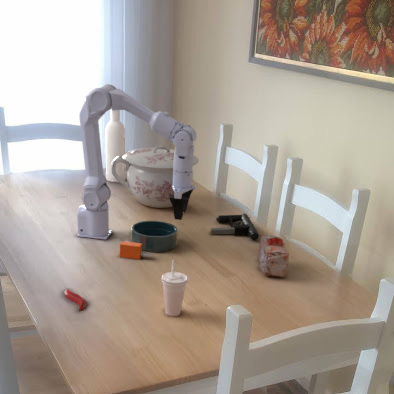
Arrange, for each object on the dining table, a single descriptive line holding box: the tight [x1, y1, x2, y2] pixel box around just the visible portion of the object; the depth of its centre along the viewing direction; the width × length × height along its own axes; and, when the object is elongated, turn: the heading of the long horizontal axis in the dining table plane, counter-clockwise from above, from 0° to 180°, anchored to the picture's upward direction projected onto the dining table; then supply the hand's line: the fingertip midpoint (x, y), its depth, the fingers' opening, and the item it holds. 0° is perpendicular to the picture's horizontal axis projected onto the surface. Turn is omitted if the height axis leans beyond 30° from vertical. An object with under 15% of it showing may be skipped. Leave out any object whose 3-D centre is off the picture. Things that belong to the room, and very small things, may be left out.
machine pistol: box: [210, 212, 260, 241], centre depth 194 cm, size 3×20×16 cm
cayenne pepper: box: [64, 288, 87, 312], centre depth 144 cm, size 12×5×2 cm, turn 18°
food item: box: [257, 234, 290, 278], centre depth 167 cm, size 14×8×10 cm, turn 5°
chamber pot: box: [111, 145, 199, 209], centre depth 210 cm, size 28×28×21 cm
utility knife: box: [119, 240, 152, 260], centre depth 169 cm, size 9×3×4 cm, turn 82°
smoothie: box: [160, 259, 189, 317], centre depth 139 cm, size 6×6×14 cm
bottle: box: [104, 109, 126, 183], centre depth 229 cm, size 8×8×30 cm
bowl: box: [130, 220, 179, 253], centre depth 179 cm, size 14×14×5 cm
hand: (180, 215), depth 175 cm, fingers open, 7 cm apart
